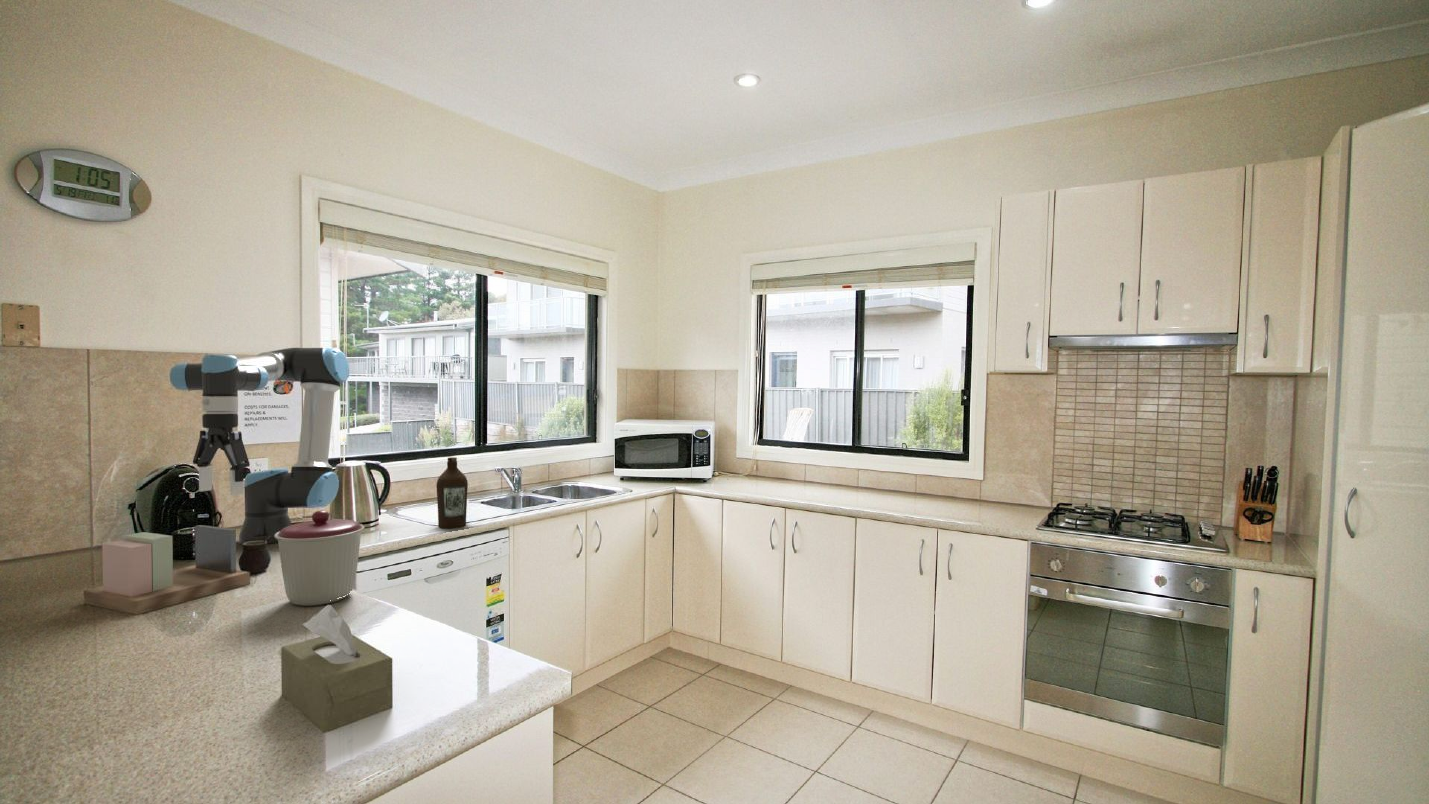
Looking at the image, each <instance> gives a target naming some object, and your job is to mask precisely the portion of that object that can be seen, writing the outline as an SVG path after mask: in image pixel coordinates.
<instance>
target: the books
mask: <svg viewBox="0 0 1429 804" xmlns="http://www.w3.org/2000/svg"><path fill="white" fill-rule="evenodd" d="M173 550H174V549H173V535H167V534H161V533H154V532H145V531H142V532H136V533H131V534H124V535H123V539H120V540H119V539H118V540H114V541H109V542H103V543H102V555H101V556H102V586H103V591H106V592H111V593H116V594H121V595H126V596H131V597H133V596H137V595H141V594H145V593H149V592H152V591H157V590H161V589H165V588H169V587H173V570H174V566H173V565H174V564H173V558H174V556H173V555H174V554H173V553H174V552H173Z"/></svg>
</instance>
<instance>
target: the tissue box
mask: <svg viewBox="0 0 1429 804" xmlns="http://www.w3.org/2000/svg"><path fill="white" fill-rule="evenodd" d="M302 625H303V626H304V627H305V628H306V629H308V630H309V631H310V632H311V633H313V634H314V635H318V636H317V637H313V638H311V639H307V640H302V641H300V642H296V643H291V644H288V645H284V646H282V647H281V649H280V652H281V653H280V654H281V655H280V656H281V657H280V658H281V659H280V661H281V669H280V670H281V671H280V673H281V674H280V675H281V696H282V697H283V698H285V700H286V701H288V702H289V703H290V704H291V705H292V706H293V707H295V708H296V709H297V711H299V712H300V713H301V714H302V715H303V716H304V717H306V718H307V719H308V720H309V721H310V722H311V723H313V724H314V725H315V727H317V728H318V729H319V730H320V731H322V733H325V734H326V733H328V732H330V731H334V730H337V729H339V728H342V727H344V726H347V725H349V724H352V723H355V722H358V721H360V720H363V719H366V718H368V717H371V716H374V715H377V714H379V713H382V712H384V711H387V710H390V709H392V708H393V704H394V703H393V699H394V698H393V696H394V695H393V691H394V690H393V687H394V686H393V657H391V656H389V655H388V654H386V653H384V652H382V651H381V650H379V649H377V648H376V647H374V646H372V645H370V644H369V643H368V642H365V641H364V640H363V639H361V638H358V637H357V636H355V635H354V634H353V633H352V631H351V630H352V629H351V628H350V626H349V625H348V624H347V622H346V621H345V619H344V618H343V617H342V616H339V614H338V612H337V611H336V610H335V608H334V607H333V605H331V604H327V605H326V606H324V607H323V608H322V609H320V611H318V613H315V614H314V615H313V616H312V617H311V618H310V619H309V620H308V621H306V622H304V623H302Z"/></svg>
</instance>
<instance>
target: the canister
mask: <svg viewBox="0 0 1429 804" xmlns="http://www.w3.org/2000/svg"><path fill="white" fill-rule="evenodd" d="M311 519H312V520H308V521H307V520H306V521H302V522H298V523H294V524H292V525H290V526H287V527H285V528H283V529H282V530H281V531H279V532H277V533H276V534H275V535H274V537H275V538H276V539H278V542H277V543H278V551H279V559H280V566H281V572H282V573H281V574H282V580H283V584H284V590H285V595H286V597H287V599H288V600H289V602H291V604H293V605H297V606H302V607H305V606H306V607H311V606H321V605H326V604H327V605H329V604H331V603H335V602H338V601H341V600H343V599H346V598H347V597H348V596H349V595H350V594H351V593H350V591H352V592H353V590H354V588H355V585H356V578H357V571H358V566H359V565H358V564H359V556H360V555H359V554H360V547H361V545H360V544H361V538H362V531H364V529H365V526H364V525H363V524H362V523H359V522H357V521H355V520H353V519H352V520H351V519H343V518H330V513H329V512H328V511H326V510H317V511H315V512H313V513H312V515H311ZM349 593H350V594H349ZM347 594H348V595H347ZM345 595H346V596H345ZM343 596H345V597H343ZM339 597H342V598H339ZM337 598H339V599H337ZM330 600H331V601H330Z"/></svg>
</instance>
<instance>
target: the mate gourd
mask: <svg viewBox="0 0 1429 804" xmlns="http://www.w3.org/2000/svg"><path fill="white" fill-rule="evenodd" d="M270 536H271V535H270ZM270 536H269V537H270ZM269 537H268V538H267V539H265V540H264V541H250V542H246V543H243V544H241V548H242V551H241V554H240V555H239V558H238V568H239V571H246V572H250V575H251V574H260V573H263V572H264V571H266V570H267V569H268V568H269V566H270V564H271V561H272V558H271V554H270V552H269V551H268V544H267V540H268V539H269Z"/></svg>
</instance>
